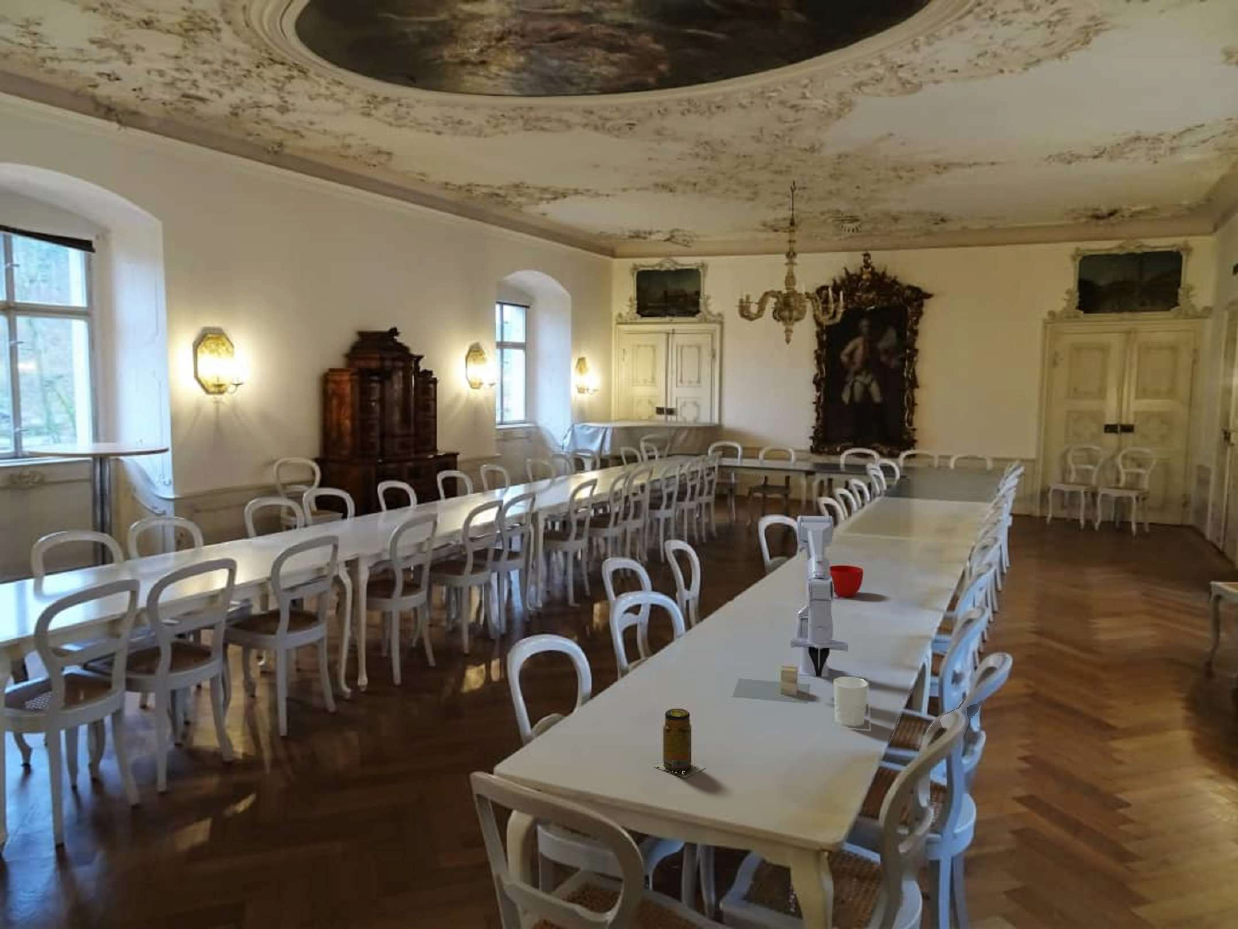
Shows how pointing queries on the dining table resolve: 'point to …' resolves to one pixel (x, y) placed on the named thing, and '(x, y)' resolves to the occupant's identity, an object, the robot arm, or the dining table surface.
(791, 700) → the rubber mat
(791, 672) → the maple block
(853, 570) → the ceramic cup
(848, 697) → the white cup
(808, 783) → the dining table surface
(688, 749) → the condiment
